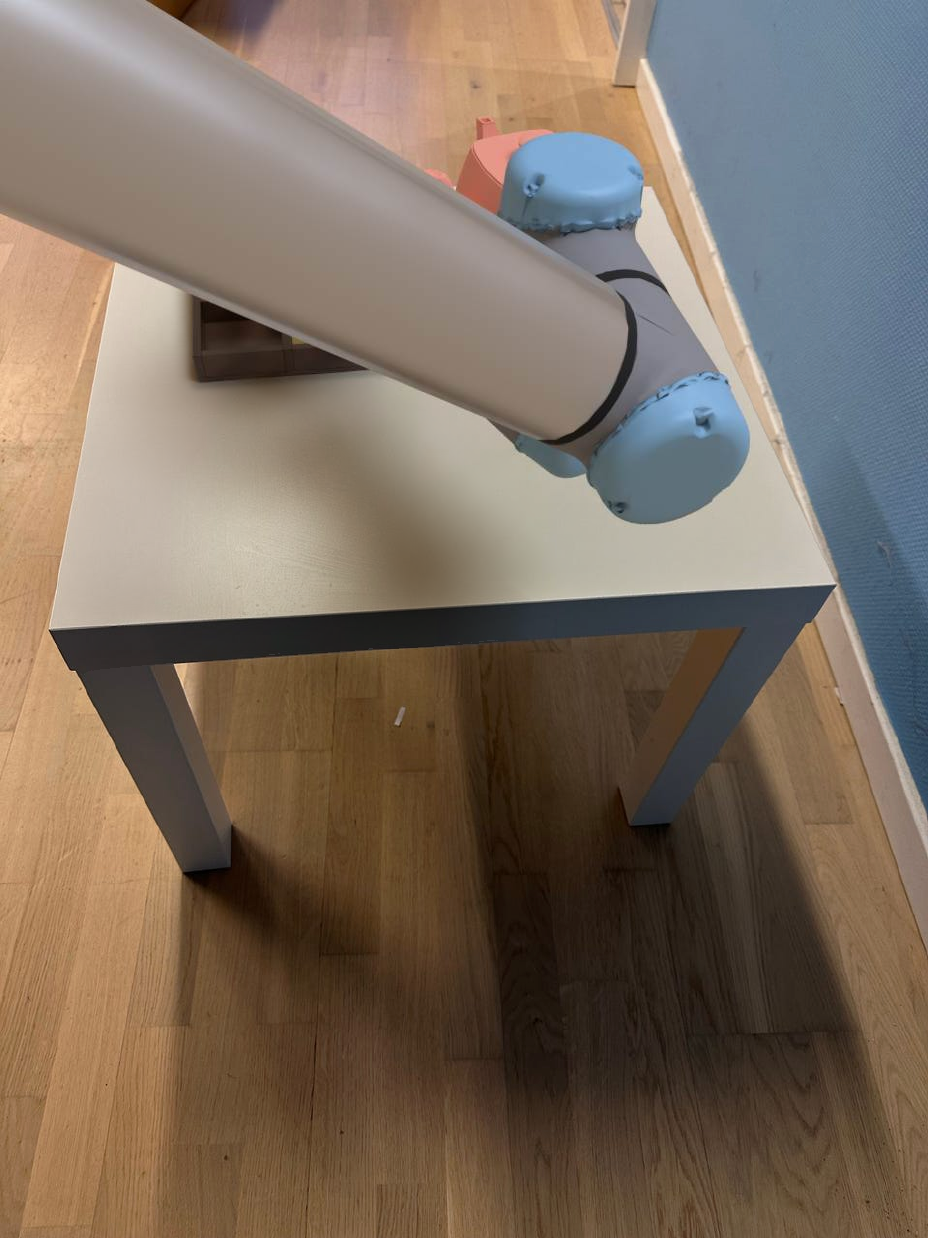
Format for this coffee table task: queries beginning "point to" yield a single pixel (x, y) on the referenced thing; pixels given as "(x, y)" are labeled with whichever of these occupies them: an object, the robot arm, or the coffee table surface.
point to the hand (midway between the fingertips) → (280, 174)
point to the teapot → (487, 163)
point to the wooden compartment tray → (251, 348)
